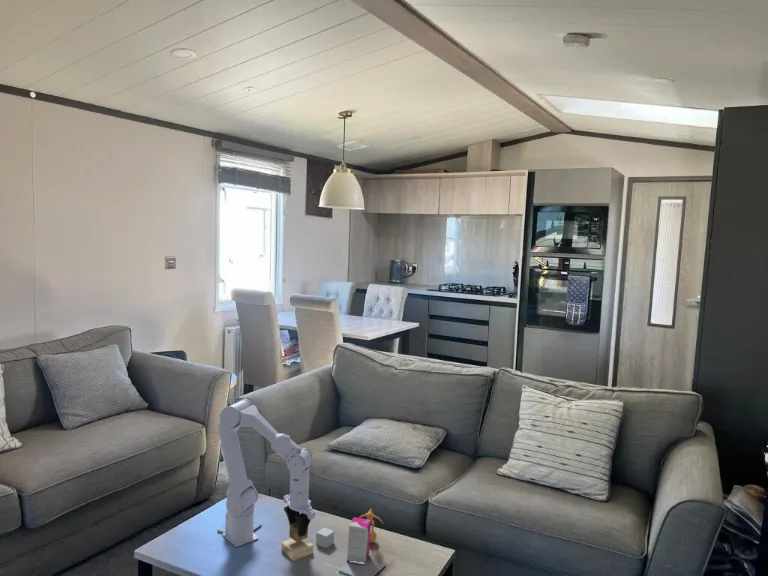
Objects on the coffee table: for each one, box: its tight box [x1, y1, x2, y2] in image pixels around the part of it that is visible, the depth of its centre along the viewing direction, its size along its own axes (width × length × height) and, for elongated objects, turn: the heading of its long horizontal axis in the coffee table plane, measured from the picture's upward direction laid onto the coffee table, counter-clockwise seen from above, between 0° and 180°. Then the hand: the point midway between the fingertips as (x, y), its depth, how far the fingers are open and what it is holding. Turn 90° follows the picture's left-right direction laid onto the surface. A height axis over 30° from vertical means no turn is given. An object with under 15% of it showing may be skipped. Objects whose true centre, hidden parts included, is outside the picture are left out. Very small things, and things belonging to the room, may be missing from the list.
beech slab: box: [281, 538, 314, 562], centre depth 170 cm, size 7×7×3 cm
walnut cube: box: [288, 522, 309, 542], centre depth 170 cm, size 4×4×4 cm
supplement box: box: [346, 516, 372, 564], centre depth 167 cm, size 6×6×12 cm
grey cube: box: [315, 527, 335, 549], centre depth 175 cm, size 4×4×4 cm
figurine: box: [358, 508, 384, 544], centre depth 176 cm, size 8×6×12 cm
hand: (298, 532), depth 170 cm, fingers closed on walnut cube, 4 cm apart
